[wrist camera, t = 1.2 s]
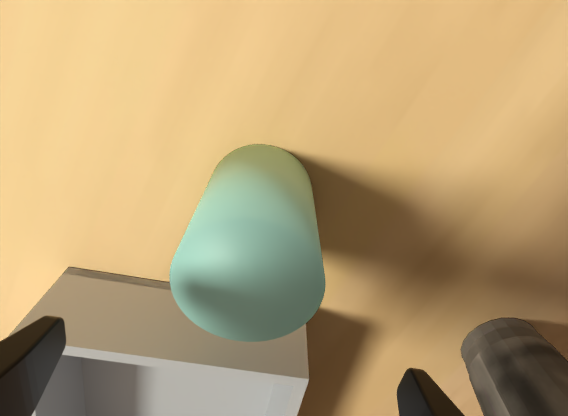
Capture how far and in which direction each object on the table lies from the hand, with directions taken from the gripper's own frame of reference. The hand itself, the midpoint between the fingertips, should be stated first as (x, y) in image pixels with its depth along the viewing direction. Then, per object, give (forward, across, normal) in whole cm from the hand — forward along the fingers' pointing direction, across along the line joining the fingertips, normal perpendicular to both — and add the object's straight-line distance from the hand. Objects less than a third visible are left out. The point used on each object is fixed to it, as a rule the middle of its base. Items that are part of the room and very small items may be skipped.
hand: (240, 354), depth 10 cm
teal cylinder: (+10, 0, 0) cm, 10 cm away
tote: (+10, +3, +15) cm, 18 cm away
